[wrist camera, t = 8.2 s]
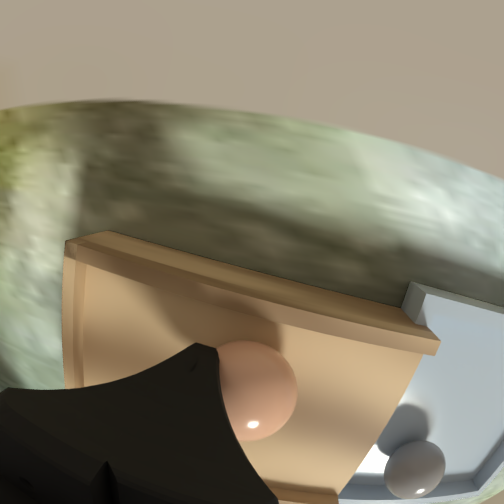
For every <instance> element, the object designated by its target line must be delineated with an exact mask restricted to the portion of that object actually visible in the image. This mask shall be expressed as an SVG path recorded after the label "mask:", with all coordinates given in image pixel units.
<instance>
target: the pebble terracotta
mask: <svg viewBox="0 0 504 504" xmlns="http://www.w3.org/2000/svg"><path fill="white" fill-rule="evenodd" d="M217 351H218V355H219V360H220V363H219V374H220V384H221V391H222V396H223V400H224V404H225V408H226V412H227V415H228V418H229V421H230V423H231V426H232V428H233V431H234V433H235V435H236V438H237V440H238V441H241V442H249V441H256V440H260V439H263V438H266V437H268V436H270V435H272V434H274V433H275V432H277V431H278V430H279V429H281V428H282V427H283V426H284V425H285V424H286V422H287V421H288V420H289V418H290V417H291V415H292V413H293V411H294V409H295V406H296V403H297V397H298V386H297V380H296V377H295V374H294V371H293V369H292V367H291V366H290V364H289V362H288V361H287V360H286V359H285V358H284V357H283V355H281V354H280V353H279V352H278V351H276V350H275V349H273V348H272V347H270V346H268V345H265V344H263V343H260V342H256V341H249V340H240V341H233V342H229V343H226V344H223V345H221V346H219V347H217Z"/></svg>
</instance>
